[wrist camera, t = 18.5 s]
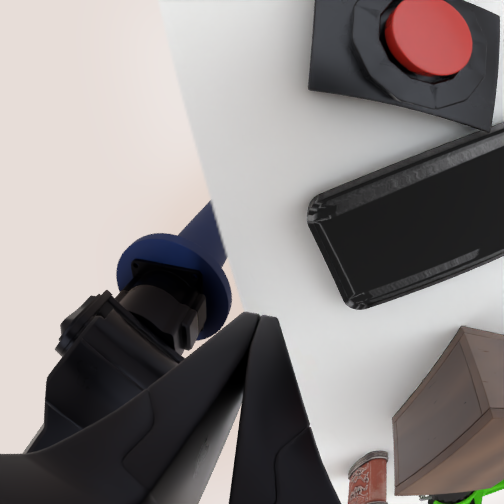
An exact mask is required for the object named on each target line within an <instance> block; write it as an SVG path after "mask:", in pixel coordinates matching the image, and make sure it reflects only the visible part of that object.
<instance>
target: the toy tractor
mask: <svg viewBox="0 0 504 504" xmlns="http://www.w3.org/2000/svg"><path fill="white" fill-rule="evenodd" d="M502 489H504V480H502V481H501V482H499V483H498V484H496V485H495V486H493V487H492V488H488V489H482V490H475V491H467V492H458V493H448V494H434V495H429V496H427V497H425V495H419V497H420V499H419V500H420V501H423V500H428V504H481V502H482V496H485V495H488V494H491V493H494V492H496V491H499V490H502ZM421 496H422V498H421Z"/></svg>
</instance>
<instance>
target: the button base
mask: <svg viewBox="0 0 504 504" xmlns="http://www.w3.org/2000/svg"><path fill="white" fill-rule="evenodd" d="M402 1H403V0H315V6H314V21H313V34H312V47H311V60H310V71H309V82H308V90H311V91H319V92H326V93H333V94H339V95H345V96H351V97H357V98H362V99H367V100H372V101H377V102H382V103H387V104H391V105H396V106H400V107H404V108H408V109H412V110H416V111H420V112H424V113H428V114H431V115H435V116H438V117H442V118H445V119H449V120H452V121H455V122H458V123H461V124H464V125H468V126H471V127H474V128H476V129H479V130H482V131H485V132H488V133H490V131H491V125H492V119H493V112H494V105H495V97H496V88H497V78H498V65H499V45H500V16H498V15H496V14H494V13H492V12H490V11H487V10H485V9H483V8H481V7H478V6H476V5H474V4H471V3H469V2H466V1H464V0H443V1H445V2H447V3H448V4H450V5H451V6H452V7H454V8H455V9H456V10H457V11H458V12H459V13H460V15H461V16H462V17H463V18H464V20H465V22H466V23H467V25H468V27H469V30H470V33H471V37H472V53H471V57H470V59H469V61H468V63H467V64H466V66H465V67H464V68H463V69H461V70H460V71H459V72H457V73H454V74H452V75H446V76H430V77H429V76H422V75H418V74H415V73H413V72H411V71H409V70H408V69H406V68H405V67H403V66H402V65H401V64H400V63H399V62H398V61H397V60H396V59H395V58H394V56H393V55H392V53H391V52H390V50H389V48H388V45H387V43H386V39H385V24H386V21H387V19H388V16H389V15H390V14H391V12H392V11H393V10H394V9H395V8H396V7H397V6H398V5H399V4H400V3H401V2H402Z"/></svg>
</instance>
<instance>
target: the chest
mask: <svg viewBox="0 0 504 504" xmlns="http://www.w3.org/2000/svg"><path fill="white" fill-rule="evenodd" d="M490 408H492V409H504V335H501V334H496V333H492V332H487V331H482V330H478V329H473V328H468V327H464V326H461V328H460V329H459V331H458V332H457V334H456V335H455V337H454V338H453V340H452V341H451V343H450V344H449V346H448V347H447V349H446V350H445V352H444V353H443V355H442V356H441V357H440V359H439V360H438V362H437V363H436V364H435V366H434V367H433V368H432V370H431V371H430V372H429V374H428V375H427V376H426V378H425V379H424V380H423V382H422V383H421V384H420V386H419V387H418V388H417V389H416V391H415V392H414V393H413V394H412V396H411V397H410V398H409V399H408V400H407V402H406V403H405V404H404V405H403V406H402V408H401V409H400V410H399V411H398V412H397V413H396V415H395V416H394V417H393V418H392V424H393V440H394V469H395V487H397V486H399V485H400V484H401V483H403V482H404V481H406V480H407V479H409V478H410V477H411V476H413V475H414V474H416V473H417V472H418V471H420V470H421V469H422V468H424V467H425V466H426V465H427V464H429V463H430V462H431V461H433V460H434V459H435V458H436V457H438V456H439V455H440V454H441V453H442V452H444V451H445V450H446V449H447V448H448V447H450V446H451V445H452V444H453V443H454V442H455V441H456V440H458V439H459V438H460V437H461V436H462V435H463V434H464V433H465V432H466V431H468V430H469V429H470V428H471V427H472V426H473V425H474V424H475V423H476V422H477V421H478V420H479V419H480V418H481V417H482V416H483V415H484V414H485V413H486V412H487V411H488V410H489V409H490Z"/></svg>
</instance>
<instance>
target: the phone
mask: <svg viewBox="0 0 504 504" xmlns="http://www.w3.org/2000/svg"><path fill="white" fill-rule="evenodd" d="M307 222H308V226H309V228H310V230H311V232H312V234H313V236H314V238H315V241H316V243H317V245H318V247H319V249H320V251H321V253H322V255H323V257H324V259H325V261H326V264H327V266H328V268H329V270H330V272H331V274H332V276H333V279H334V281H335V283H336V285H337V287H338V290H339V292H340V294H341V296H342V298H343V301H344V302H345V304H346V305H347V306H349V307H350V308H353V309H357V310H362V309H367V308H370V307H373V306H376V305H379V304H382V303H385V302H388V301H391V300H393V299H396V298H399V297H402V296H405V295H408V294H410V293H413V292H416V291H419V290H421V289H424V288H427V287H429V286H432V285H435V284H437V283H440V282H442V281H445V280H447V279H450V278H453V277H455V276H458V275H460V274H462V273H465V272H467V271H470V270H472V269H475V268H477V267H479V266H482V265H484V264H486V263H489V262H491V261H493V260H496V259H498V258H500V257H502V256H504V123H501V124H498V125H495V126H493V127H491V131H490V133H488V132H485V131H479V132H476V133H474V134H471V135H468V136H466V137H463V138H460V139H458V140H455V141H452V142H450V143H447V144H445V145H442V146H439V147H437V148H434V149H431V150H429V151H426V152H424V153H421V154H419V155H416V156H413V157H411V158H408V159H406V160H403V161H401V162H398V163H396V164H393V165H391V166H388V167H386V168H383V169H381V170H378V171H376V172H373V173H371V174H368V175H366V176H363V177H361V178H358V179H356V180H353V181H351V182H348V183H346V184H344V185H341V186H339V187H336V188H334V189H331V190H329V191H326V192H324V193H322V194H319V195H318V196H316V197H314V199H313V200H312V201H311V202H310V205H309V207H308V213H307Z"/></svg>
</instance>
